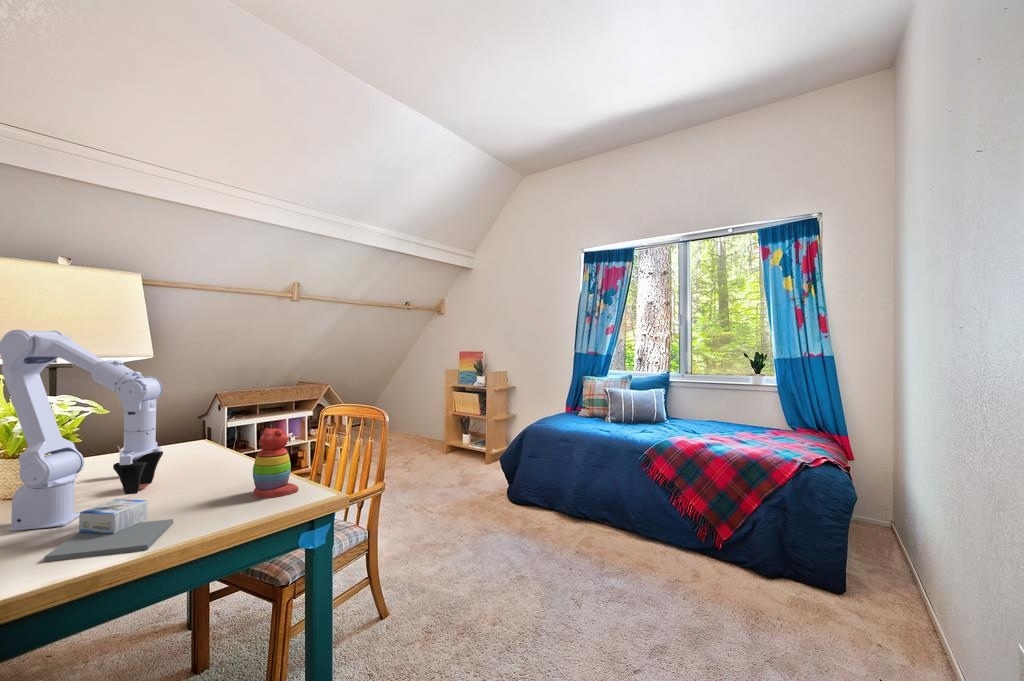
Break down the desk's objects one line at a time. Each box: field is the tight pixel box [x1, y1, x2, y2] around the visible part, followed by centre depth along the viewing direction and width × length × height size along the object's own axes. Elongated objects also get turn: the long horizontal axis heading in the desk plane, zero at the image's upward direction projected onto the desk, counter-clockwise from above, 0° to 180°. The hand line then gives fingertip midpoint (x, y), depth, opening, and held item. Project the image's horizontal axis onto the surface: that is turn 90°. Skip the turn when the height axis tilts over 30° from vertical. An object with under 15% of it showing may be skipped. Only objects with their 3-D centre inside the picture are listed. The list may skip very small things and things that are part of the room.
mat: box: [43, 518, 174, 563], centre depth 94 cm, size 16×14×1 cm
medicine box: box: [78, 498, 149, 534], centre depth 99 cm, size 8×4×9 cm
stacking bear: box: [252, 427, 300, 499], centre depth 126 cm, size 11×10×18 cm
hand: (139, 488), depth 105 cm, fingers open, 7 cm apart
